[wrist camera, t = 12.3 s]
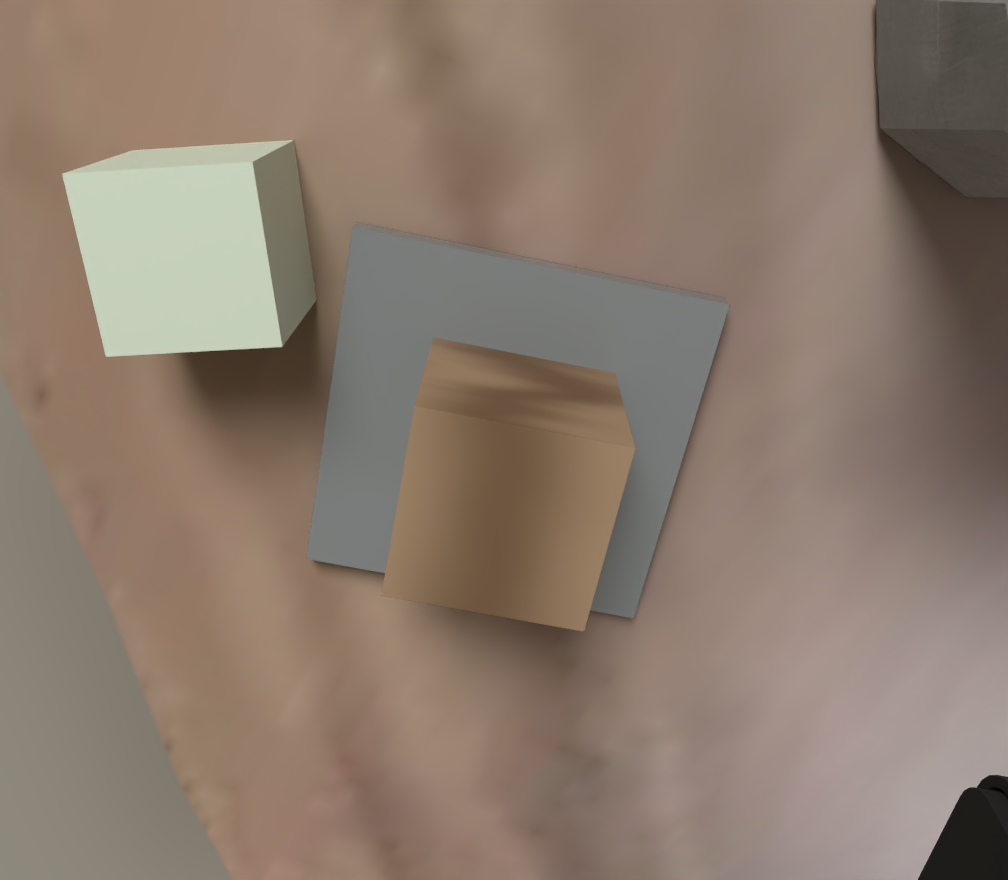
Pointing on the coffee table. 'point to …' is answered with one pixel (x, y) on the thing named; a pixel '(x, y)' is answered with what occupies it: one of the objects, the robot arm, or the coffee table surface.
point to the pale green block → (194, 247)
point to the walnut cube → (509, 486)
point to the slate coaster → (512, 328)
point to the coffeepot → (947, 88)
